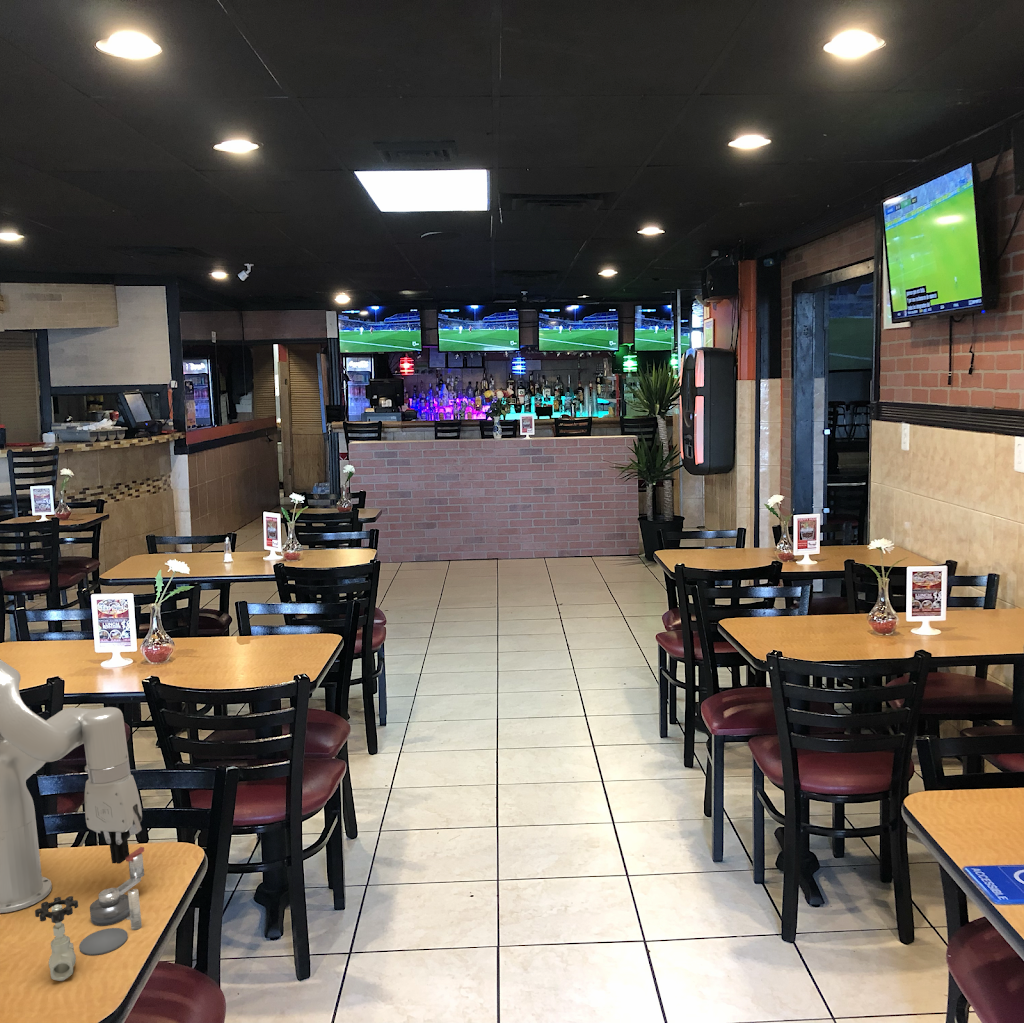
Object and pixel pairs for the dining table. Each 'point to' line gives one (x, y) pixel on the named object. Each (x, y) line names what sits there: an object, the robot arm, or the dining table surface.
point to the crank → (136, 872)
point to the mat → (103, 941)
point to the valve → (59, 937)
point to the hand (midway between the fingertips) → (120, 860)
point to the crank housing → (118, 911)
